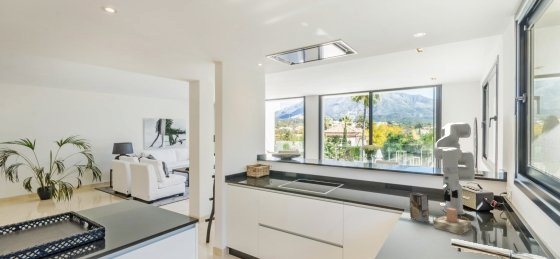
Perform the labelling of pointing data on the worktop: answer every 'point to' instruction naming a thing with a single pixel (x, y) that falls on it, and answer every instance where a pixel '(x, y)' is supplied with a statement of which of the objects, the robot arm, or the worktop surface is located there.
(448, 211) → the peg
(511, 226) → the worktop surface
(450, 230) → the socket
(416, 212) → the coffee box
